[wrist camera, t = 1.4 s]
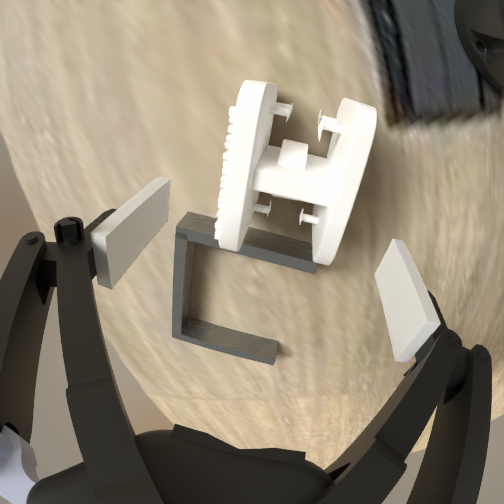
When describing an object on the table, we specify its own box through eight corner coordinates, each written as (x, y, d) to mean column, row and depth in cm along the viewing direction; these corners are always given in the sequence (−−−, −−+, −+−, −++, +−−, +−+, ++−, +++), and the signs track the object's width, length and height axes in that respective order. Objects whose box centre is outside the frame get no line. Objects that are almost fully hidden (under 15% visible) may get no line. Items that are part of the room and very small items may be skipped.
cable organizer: (322, 222, 34) (327, 283, 25) (237, 203, 35) (209, 256, 25) (355, 101, 26) (384, 110, 16) (257, 78, 27) (231, 75, 17)
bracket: (317, 245, 36) (318, 263, 33) (275, 346, 48) (273, 365, 45) (187, 211, 37) (176, 226, 33) (180, 320, 48) (172, 337, 45)
